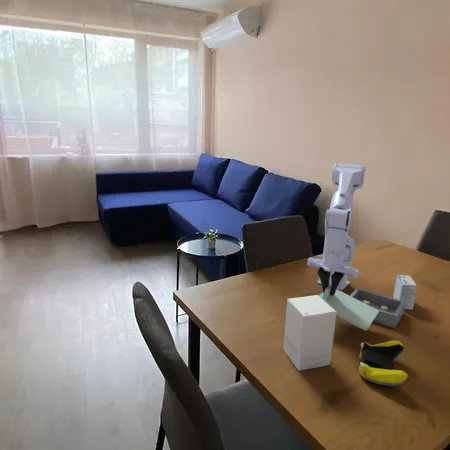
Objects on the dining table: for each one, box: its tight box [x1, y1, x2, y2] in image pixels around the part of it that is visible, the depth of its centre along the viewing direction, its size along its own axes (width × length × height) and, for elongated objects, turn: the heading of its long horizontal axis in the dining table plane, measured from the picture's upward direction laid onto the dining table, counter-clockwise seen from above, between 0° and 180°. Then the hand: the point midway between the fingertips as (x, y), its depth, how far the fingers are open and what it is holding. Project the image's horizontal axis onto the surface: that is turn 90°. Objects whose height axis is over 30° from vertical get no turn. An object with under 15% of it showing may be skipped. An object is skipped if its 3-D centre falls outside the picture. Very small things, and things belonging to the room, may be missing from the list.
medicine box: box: [392, 274, 418, 311], centre depth 120 cm, size 8×4×9 cm, turn 168°
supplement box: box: [283, 294, 337, 372], centre depth 91 cm, size 9×9×15 cm
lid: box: [318, 284, 379, 332], centre depth 104 cm, size 16×12×5 cm
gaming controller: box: [358, 340, 409, 387], centre depth 88 cm, size 15×6×10 cm
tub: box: [349, 287, 405, 329], centre depth 114 cm, size 15×11×4 cm
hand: (328, 293), depth 107 cm, fingers closed on lid
